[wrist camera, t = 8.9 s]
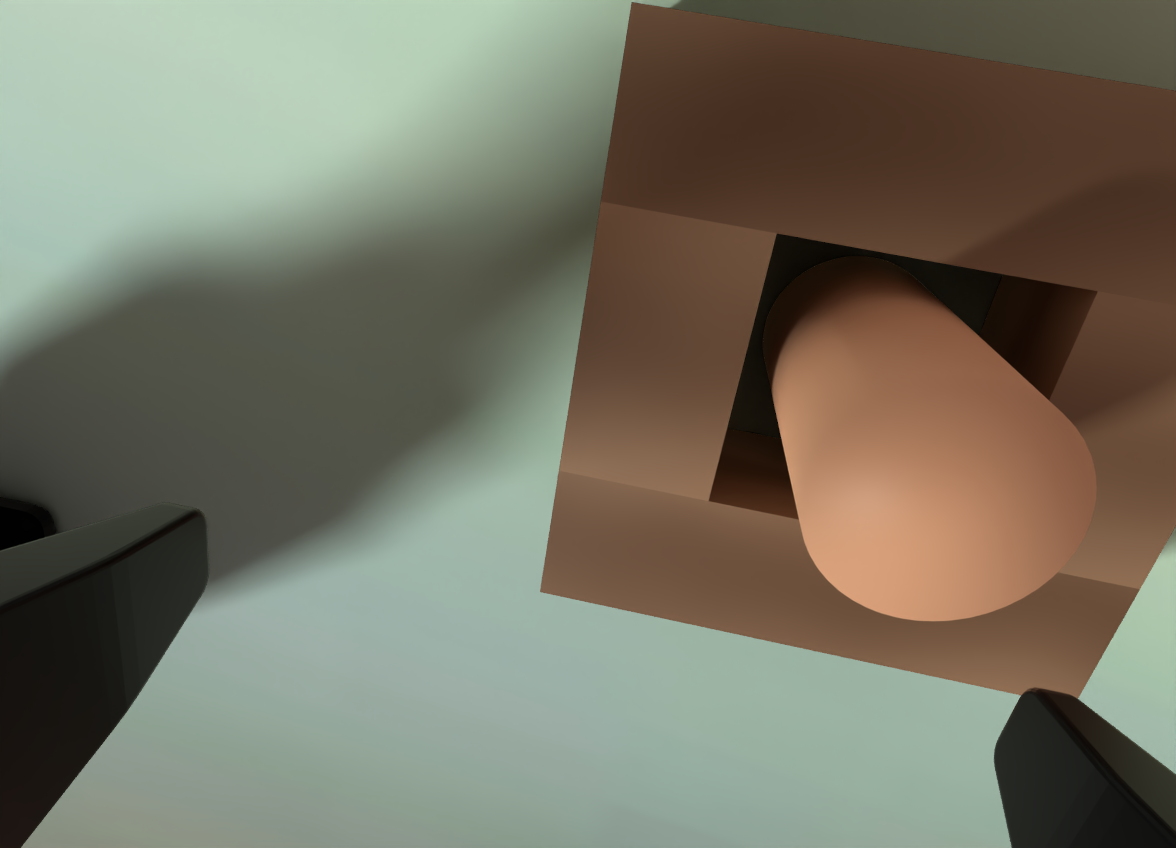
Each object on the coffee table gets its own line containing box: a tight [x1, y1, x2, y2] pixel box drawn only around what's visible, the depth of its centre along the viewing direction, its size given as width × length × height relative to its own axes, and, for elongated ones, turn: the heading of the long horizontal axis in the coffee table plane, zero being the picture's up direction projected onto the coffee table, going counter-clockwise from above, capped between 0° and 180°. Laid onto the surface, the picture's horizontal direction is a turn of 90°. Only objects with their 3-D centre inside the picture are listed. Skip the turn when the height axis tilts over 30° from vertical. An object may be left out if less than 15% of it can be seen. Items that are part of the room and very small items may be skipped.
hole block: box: [540, 2, 1176, 699], centre depth 16 cm, size 12×12×4 cm
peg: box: [763, 256, 1097, 621], centre depth 15 cm, size 4×4×8 cm
